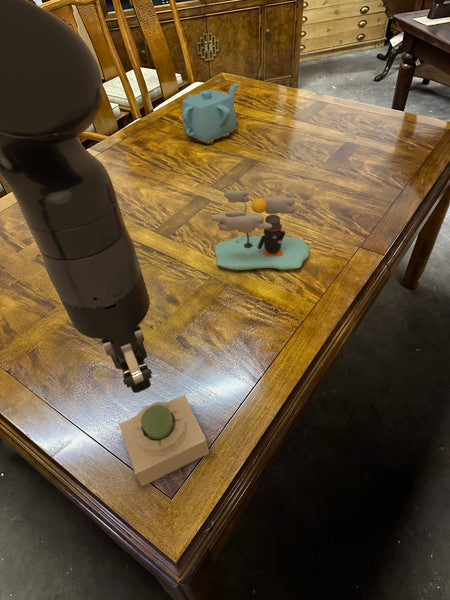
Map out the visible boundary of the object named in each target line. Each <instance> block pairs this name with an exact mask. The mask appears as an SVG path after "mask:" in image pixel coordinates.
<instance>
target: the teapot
mask: <svg viewBox="0 0 450 600" xmlns="http://www.w3.org/2000/svg"><path fill="white" fill-rule="evenodd" d="M239 85H240V83H234V84H233V85H231V86H230V87H229V90H228V93H225V92H223V91H219V90H215V89H204V90H202V91H201V92H199V93H196V94H188V95H187V96H186V98H185V99H183V100H182V101H181V118H182V119H181V121H182V128H183V131H184V133H185V135H186V134H187V135H186V136H188V137H190V136H192V137H194V138H196V139H198V140H197V141H199V140H200V141H199V142H201V141H203V142H207V143H206V144H208V145H210V144H213V143H214V142H215V140H213V139H216V138H218V137H221V136H223V135H225V134H227V133H229V132H231V131H232V130H234V129H235V128H236V129H237V124H238V120H237V114H236V108H235V107H236V106H235V93H236V90H237V88H238V87H239ZM234 131H235V130H234ZM231 133H232V132H231ZM229 136H230V133H229V134H227V135H225V136H223V137H221V138H227V137H229ZM192 137H191V138H192ZM194 138H193V139H194ZM196 139H195V140H196ZM218 139H219V138H218ZM211 140H213V141H211ZM216 140H217V139H216ZM208 141H210V142H208ZM203 142H202V143H203Z"/></svg>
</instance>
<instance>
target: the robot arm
mask: <svg viewBox="0 0 450 600" xmlns="http://www.w3.org/2000/svg"><path fill="white" fill-rule="evenodd" d="M103 92H104V87H103V79H102V74H101V70H100V67H99V64H98V62H97V59H96V57H95V56H94V54H93V52H92V51H91V49H90V47H89V46H88V44H87V43H86V42H85V40H84V39H83V38H82V37H81V35H80V34H79V33H78V32H77V31H76V30H75V29H74V28H73V27H71V25H70V24H68V23H67V22H65V21H64V20H63V19H61V18H60V17H59V16H57V15H55V13H52V12H50V11H48V10H47V9H45V8H43V7H41V6H40V5H38V4H35V3H33V2H31V1H29V0H0V176H1V178H2V179H3V181H4V182H5V183H6V185H7V186H8V188H9V190H10V191H11V193H12V195H13V196H14V197H15V198H14V199H15V200H16V202H17V204H18V207H19V209H20V212H21V214H22V217H23V219H24V221H25V223H26V225H27V227H28V229H29V231H30V233H31V235H32V237H33V240H34V242H35V244H36V246H37V248H38V250H39V252H40V254H41V256H42V261H43V265H44V267H45V270H46V273H47V275H48V278H49V279H50V281H51V283H52V285H53V288H54V289H55V291H56V293H57V295H58V298H59V299H60V302H61V304H62V306H63V308H64V310H65V311H66V313H67V315H68V317H69V319H70V321H71V324H72V326H73V327H74V329H75V330H76V331H77V332H78V333H80V334H81V335H83V336H85V337H87V338H91V339H97V340H98V339H99V340H100V341H101V344H102V346H103V349H104V351H105V353H106V355H108V356H110V358H111V360H112V362H113V365H114V367H115V369H116V370H121V374H122V377H123V380H122V381H123V384H124V386H126V387H127V388H131V391H132V392H133V393H134V394H139V393H141V392H144V391H146V390H147V389H149V388H150V387H151V386H152V384H151V383H152V382H151V380H150V379H152V378H153V377H152V374H153V372H152V369H151V368H149V366H148V365H147V362H146V361H145V360H146V359H147V358H148V354H147V350H146V348H145V345H144V341H145V335H144V333H143V331H142V328H141V326H140V324H141V323H142V322H143V320H144V319H146V316H147V314H148V312H149V310H150V305H151V304H150V303H151V302H150V296H149V292H148V289H147V286H146V282H145V277H144V275H143V271H142V269H141V266H140V261H139V258H138V255H137V251H136V248H135V245H134V242H133V240H132V238H131V236H130V233H129V231H128V229H127V227H126V224H125V221H124V216H123V214H122V210H121V208H120V204H119V200H118V197H117V194H116V190H115V187H114V184H113V182H112V179H111V176H110V174H109V172H108V170H107V169H106V167H105V166H104V164H102V162H101V161H100V160H99V159H98V158H96V156H94V155H93V154H92V153H90V152H89V151H88V150H87V149H86V148H85V147H84V145H83V144H82V143H81V141H80V140H79V138H78V137H79V136H81V135H82V134H84V133H85V132H86V131H87V130H88V129H89V128H90V127H91V126H92V125H93V123H94V122H95V120H96V119H97V117H98V115H99V112H100V110H101V107H102V103H103V94H104V93H103Z"/></svg>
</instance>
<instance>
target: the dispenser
mask: <svg viewBox="0 0 450 600" xmlns="http://www.w3.org/2000/svg"><path fill="white" fill-rule="evenodd" d="M155 405H162V406H165V407H167V408H168V409H169V410H170V412H171V415H172V418H173V421H174V427H173V430H172V432H171V433H170V434H169V435H168V436H167V437H165V438H163V439H160V440H154V439H151V438H149V437H148V436H147V435H146V433H145V431H144V429H143V427H142V424H141V419H142V416H143V414H144V412H145V411H146V410H147V409H148V408H150V407H152V406H155ZM118 424H119V427H120V428H119V429H120V432H121V434H122V437H123V441H124V444H125V447H126V450H127V454H128V456H129V459H130V463H131V466H132V469H133V472H134V476H136V478H137V480H138V482H139V484H140V486H141V487H144V486H146V485H148V484H150V483H152V482H154V481H156V480H158V479H160V478H162V477H165V476H167V475H168V474H170V473H172V472H174V471H177V470H178V469H180V468H183V467H185V466H187V465H188V464H190V463H192V462H195V461H196V460H199V459H201V458H202V457H205V456H206V455H207V456H208V455H209V454H210V449H209V446H208V441H207V439H206V436H205V434H204V432H203V429H202V428H201V425H200V424H199V422H198V420H197V417H196V415H195V413H194V411H193V409H192V407H191V404H190V403H189V400H188V398H187V396H186V394H183V395H180V396H178V397H176V398H173V399H171V400H169V401H156V402H155V401H154V402H153V403H151V404H149V405H146V406H144V407H143V408H142V409H141V411H140V412H139V413H138V414H137V415H136V416H134V417H131V418H129V419H127V420H125V421H122V422H120V423H118Z"/></svg>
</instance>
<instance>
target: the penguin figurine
mask: <svg viewBox="0 0 450 600" xmlns="http://www.w3.org/2000/svg"><path fill="white" fill-rule="evenodd" d="M223 197H224V198H226V199H227V201H228V202H229V203H233V204H234V203H244V206H245V209H244V207H243V208H241V207H240V206H238V208H239V209H230V210H226V211H225V212H224V213H217V214H213V215H210V219H211V220H212V221H213V222H217V223H218V224H217V227H218V229H219V230H220V231H223V232H234V231H238V233H242V234H243V235H240V236H236V237H233V238H230V239H228V240H223V241H220V242H219V243H217V244H216V245H215V246H214V255H215V257H216V265H217V266H219V267H221V268H224V269H227V270H234V271H245V270H246V271H247V270H257V269H267V268H268V269H275V270H276V269H278V270H293V269H299V268H301V267H302V265H303V264H304V261H305V260H306V259H308V258H309V255H310V252H311V248H310V246H309V245H308V243H307V242H306V241H305V240H304V239H302V238H300V237H296V236H285V235H286V230H282V229H283V225H282V223H281V217H280V216H284V215H285V214H286V215H291V214H294V213H296V207H295V205H296V202H295V200H294V199H293V198H291V197H277V196H275V197H273V196H272V197H265V198H260V197H258V198H257V197H256V198H255V199H253V200H252V202H251V203H250V204H248V205H246V204H247V203H248V202H250V197H249V192H248V191H246V190H228V191H227V190H226V191H225V192H224V193H223ZM247 207H250V208H251V210H252V211H253V212H254V213H248V212H247V209H248V208H247ZM243 209H244V210H243ZM264 212H265V213H266V214H267V216H266V217H264V216H263V215H261V214H262V213H264ZM277 214H279V215H280V216H279V215H277ZM256 229H258V230H259V231H262V230H263V234H264V235H262V236H260V235H259V234H258V233H257V232H255V231H256Z"/></svg>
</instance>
